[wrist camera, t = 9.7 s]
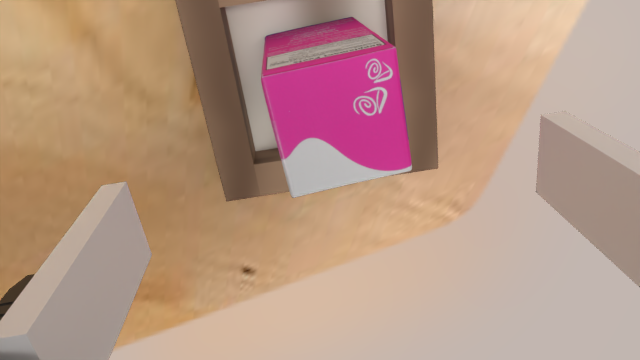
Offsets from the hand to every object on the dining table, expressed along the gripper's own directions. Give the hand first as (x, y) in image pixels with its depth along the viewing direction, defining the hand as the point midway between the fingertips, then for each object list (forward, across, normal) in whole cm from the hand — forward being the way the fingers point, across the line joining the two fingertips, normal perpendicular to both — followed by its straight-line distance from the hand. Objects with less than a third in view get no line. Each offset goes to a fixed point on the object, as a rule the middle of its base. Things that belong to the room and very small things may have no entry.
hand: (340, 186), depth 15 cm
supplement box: (+17, +1, 0) cm, 17 cm away
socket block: (+18, 0, 0) cm, 18 cm away
